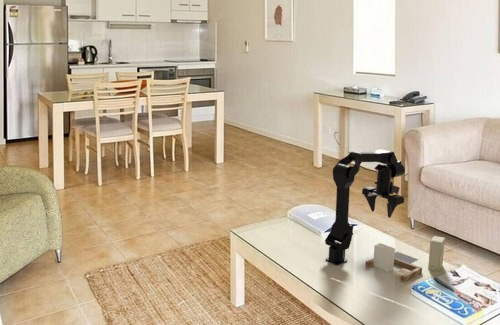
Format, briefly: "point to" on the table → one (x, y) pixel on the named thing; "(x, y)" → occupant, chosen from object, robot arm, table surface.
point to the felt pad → (405, 257)
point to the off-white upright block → (384, 257)
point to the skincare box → (436, 253)
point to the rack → (414, 269)
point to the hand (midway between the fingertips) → (381, 214)
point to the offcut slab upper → (401, 272)
